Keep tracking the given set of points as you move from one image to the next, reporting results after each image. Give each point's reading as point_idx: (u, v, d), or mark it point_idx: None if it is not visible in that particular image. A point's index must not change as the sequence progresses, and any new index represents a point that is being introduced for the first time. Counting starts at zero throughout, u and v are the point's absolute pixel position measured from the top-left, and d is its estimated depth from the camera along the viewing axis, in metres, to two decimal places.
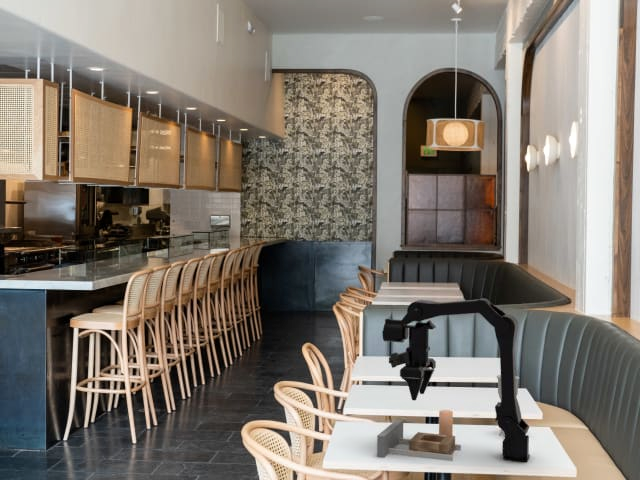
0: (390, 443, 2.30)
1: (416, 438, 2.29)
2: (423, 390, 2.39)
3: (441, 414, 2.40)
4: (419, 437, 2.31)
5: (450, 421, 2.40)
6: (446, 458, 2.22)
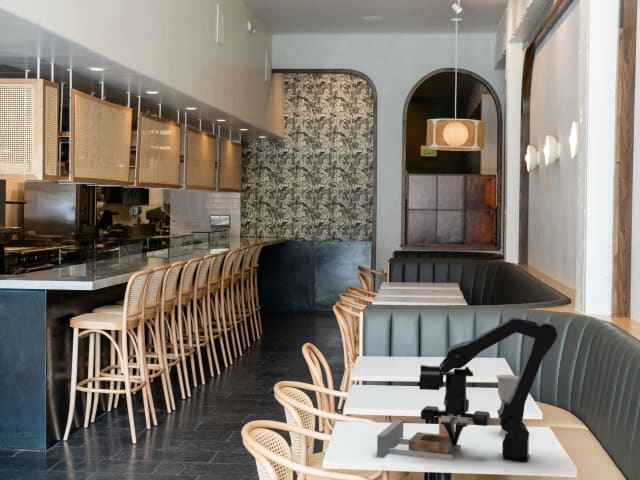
0: (390, 443, 2.30)
1: (416, 438, 2.29)
2: None
3: None
4: (419, 437, 2.31)
5: None
6: (446, 458, 2.22)
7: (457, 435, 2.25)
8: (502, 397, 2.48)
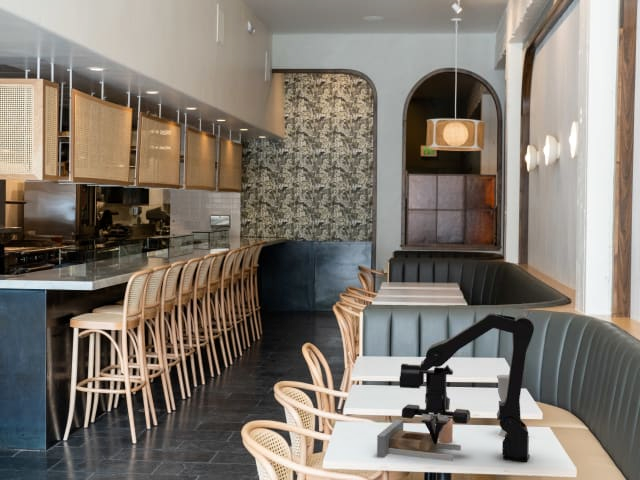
0: None
1: (397, 436, 2.31)
2: None
3: None
4: (400, 435, 2.33)
5: (450, 421, 2.40)
6: (446, 458, 2.22)
7: (437, 433, 2.27)
8: (502, 397, 2.48)
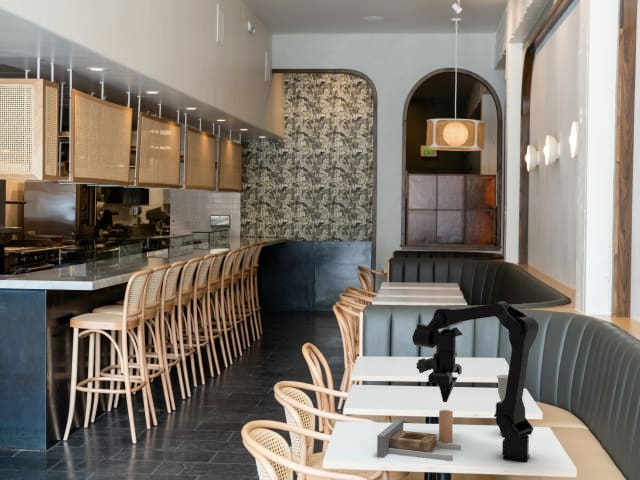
0: None
1: (397, 436, 2.31)
2: None
3: (441, 414, 2.40)
4: (400, 435, 2.33)
5: (450, 421, 2.40)
6: (446, 458, 2.22)
7: (451, 389, 2.41)
8: (502, 397, 2.48)
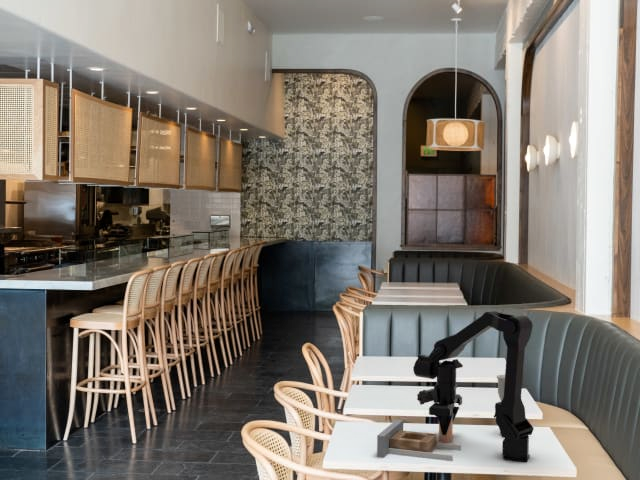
0: None
1: (397, 436, 2.31)
2: None
3: None
4: (400, 435, 2.33)
5: None
6: (446, 458, 2.22)
7: None
8: (502, 397, 2.48)
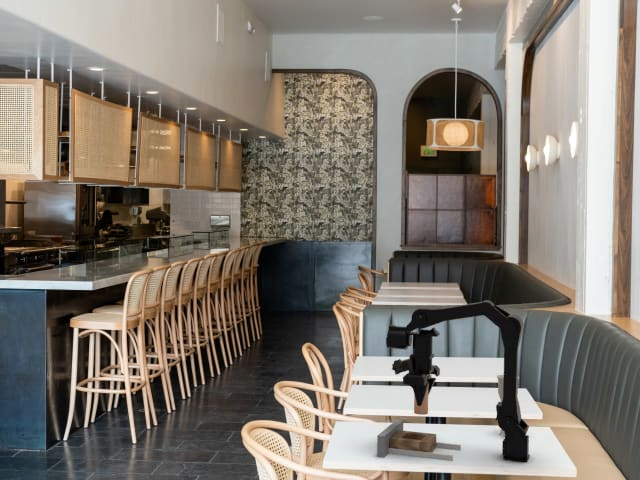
0: None
1: (397, 436, 2.31)
2: None
3: None
4: (400, 435, 2.33)
5: None
6: (446, 458, 2.22)
7: (430, 390, 2.36)
8: (502, 397, 2.48)
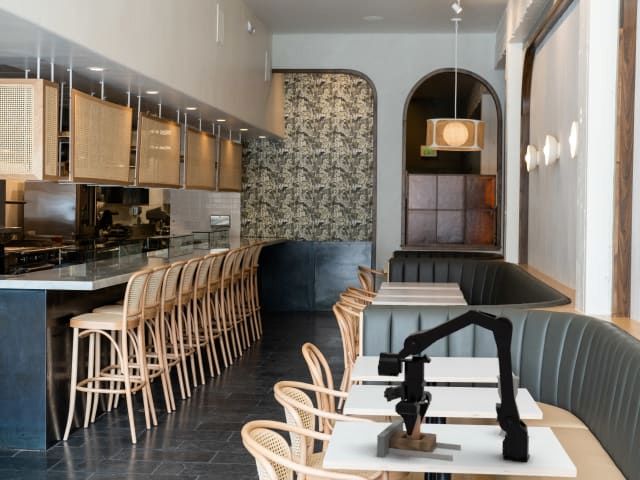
0: None
1: (397, 436, 2.31)
2: None
3: None
4: (400, 435, 2.33)
5: (418, 425, 2.30)
6: (446, 458, 2.22)
7: (424, 415, 2.36)
8: None
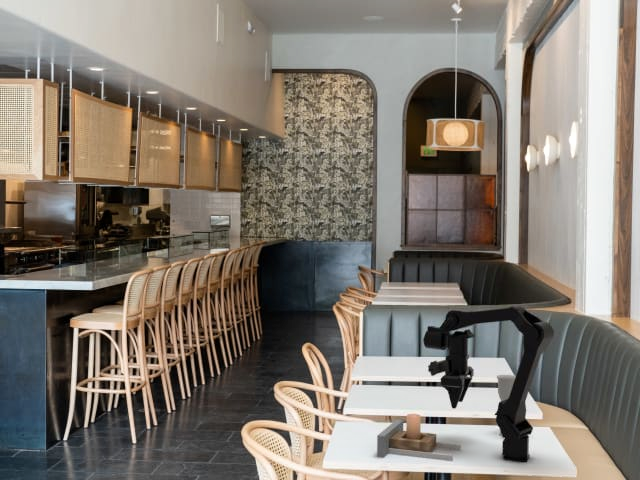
0: None
1: (397, 436, 2.31)
2: (462, 398, 2.41)
3: (408, 418, 2.30)
4: (400, 435, 2.33)
5: (418, 425, 2.30)
6: (446, 458, 2.22)
7: None
8: (502, 397, 2.48)
